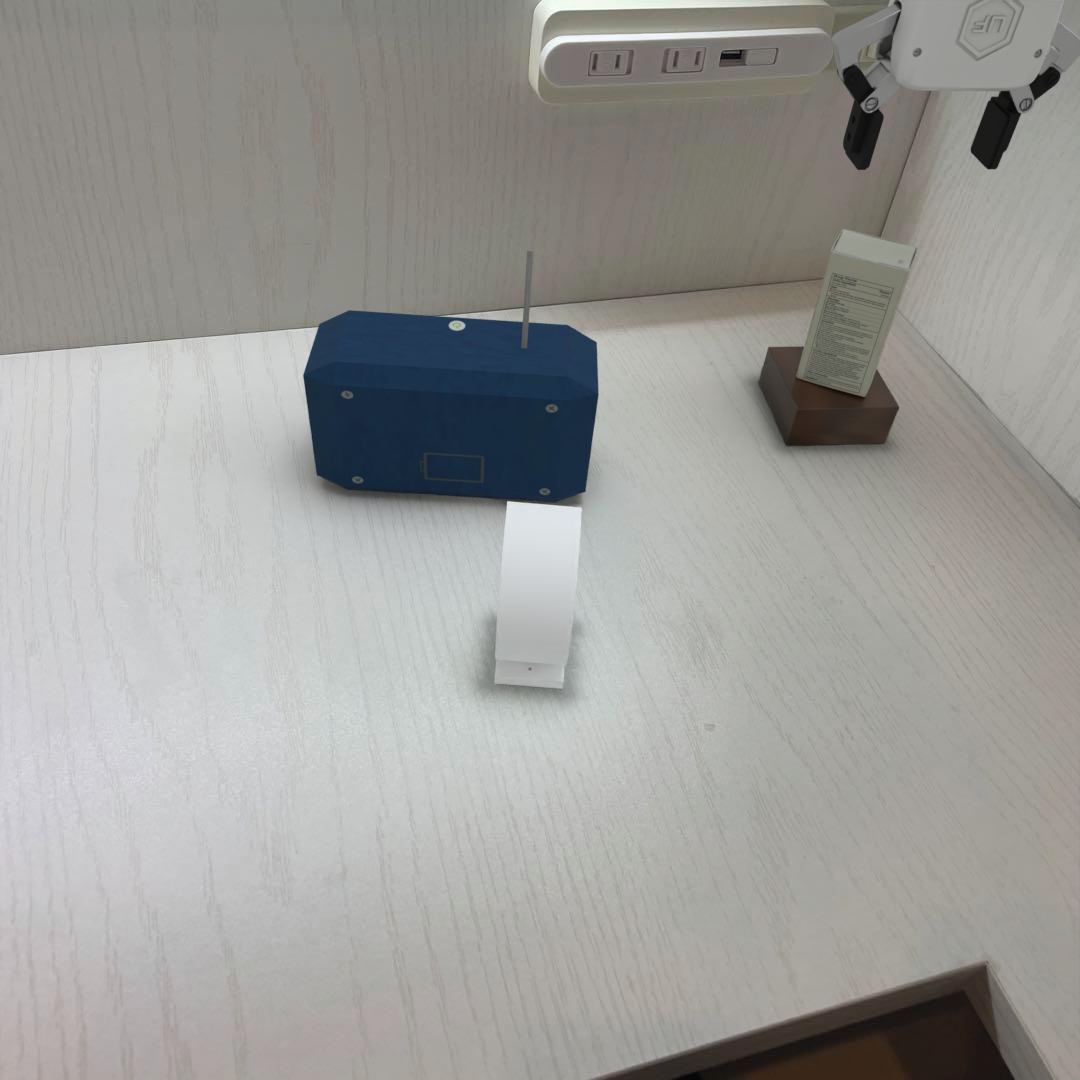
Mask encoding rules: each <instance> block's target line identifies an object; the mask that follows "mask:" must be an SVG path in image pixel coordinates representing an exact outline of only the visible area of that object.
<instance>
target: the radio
mask: <svg viewBox="0 0 1080 1080" xmlns="http://www.w3.org/2000/svg"><path fill="white" fill-rule="evenodd" d="M533 260H534V250H533V249H528V250H526V261H525V262H526V263H525V279H524V294H523V296H524V297H523V310H522V311H523V313H522V314H523V315H522V321H514V320H502V319H501V320H500V319H487V318H486V319H485V318H484V319H483V318H471V317H455V316H441V315H440V316H439V315H425V314H409V313H395V312H382V311H381V312H380V311H366V310H352V309H351V310H350V309H348V310H346V311H345V312H342V313H339V314H337V315H336V316H333V317H331V318H329V319H327V320H325V321H322V322H321V323H318V327H317V329H316V333H315V337H314V340H313V342H312V346H311V350H310V351H309V355H308V358H307V362H306V365H305V368H304V371H303V374H302V377H303V385H304V392H305V399H306V406H307V413H308V421H309V428H310V436H311V437H310V438H311V443H312V451H313V458H314V465H315V466H314V467H315V473H316V476H317V477H319V478H321V479H324V480H325V481H328V482H330V483H333V484H335V485H337V486H339V487H341V488H343V489H345V490H347V491H357V492H358V491H362V492H375V493H376V492H377V493H391V494H393V493H394V494H406V495H407V494H408V495H409V494H411V495H426V496H443V497H457V498H459V497H460V498H474V499H491V500H492V499H493V500H505V501H506V500H507V501H522V502H537V503H557V502H560V501H564V500H565V499H569V498H572V497H575V496H577V495H580V494H583V493H586V491H587V484H588V477H589V469H590V461H591V455H592V447H593V441H594V440H593V439H594V431H595V424H596V417H597V409H598V403H599V367H598V366H599V365H598V363H599V362H598V342H597V341H595V340H593V339H592V338H591V337H589V336H587V335H585V334H584V333H582V332H580V331H578V330H577V329H575V328H573V327H572V326H570V325H568V324H561V323H560V324H559V323H546V322H545V323H544V322H531V321H530V309H531V308H530V307H531V293H532V280H533V279H532V278H533V277H532V276H533V263H534V261H533Z"/></svg>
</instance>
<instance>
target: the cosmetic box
mask: <svg viewBox="0 0 1080 1080" xmlns="http://www.w3.org/2000/svg"><path fill="white" fill-rule="evenodd" d="M917 253H918V246H916V245H912V244H909V243H905V242H900V241H896V240H893V239H889V238H884V237H880V236H875V235H871V234H867V233H863V232H859V231H854V230H851V229H845V228H843V229H842V230H841V231H840V233H839V235H838V237H836V240H835V242H834V243H833V245H832V247H831V249H830V252H829V255H828V259H827V263H826V266H825V270H824V273H823V274H824V275H823V277H822V281H821V285H820V289H819V291H818V295H817V300H816V302H815V307H814V310H813V312H812V316H811V317H812V318H811V321H810V325H809V329H808V332H807V335H806V340H805V343H804V349H803V353H802V357H801V360H800V364H799V368H798V372H797V375H796V377H797V378H798V379H801V380H805V381H808V382H811V383H815V384H818V385H822V386H826V387H829V388H833V389H836V390H840V391H843V392H847V393H850V394H854V395H858V396H862V397H866V395H867V393H868V390H869V388H870V386H871V383H872V380H873V377H874V375H875V372H876V369H877V370H878V366H879V363H880V360H881V357H882V355H883V352H884V349H885V347H886V343H887V341H888V337H889V336H890V335H889V334H890V332H891V329H892V326H893V323H894V320H895V318H896V315H897V312H898V308H899V305H900V303H901V300H902V298H903V294H904V292H905V289H906V286H907V282H908V280H909V276H910V274H911V271H912V267H913V265H914V262H915V259H916V256H917Z"/></svg>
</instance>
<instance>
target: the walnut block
mask: <svg viewBox="0 0 1080 1080" xmlns="http://www.w3.org/2000/svg"><path fill="white" fill-rule="evenodd" d="M804 346H805V345H804ZM804 346H803V345H802V346H799V345H798V346H768V347H767V350H766V354H765V358H764V361H763V365H762V368H761V372H760V375H759V378H758V385H759V388H760V389H761V392H762V394H763V397H764V399H765V401H766V403H767V405H768V408H769V410H770V412H771V414H772V417H773V419H774V421H775V424H776V426H777V429H778V430H779V432H780V435H781V437H782V439H783V442H784V445H785V446H787V447H788V446H791V447H793V446H825V445H865V444H885V443H886V441H887V439H888V436H889V434H890V432H891V429H892V426H893V424H894V422H895V419H896V417H897V414H898V412H899V410H900V405H899V404H898V402H897V400H896V399H895V397H894V395H893V393H892V392H891V390H890V388H889V387H888V385H887V383H886V382H885V380H884V379H883V377H882V375H881V373H880V372H879V370H878V368H877V369H876V372H875V375H874V377H873V380H872V383H871V386H870V388H869V390H868V393H867V395H866V397H862V396H858V395H854V394H850V393H847V392H843V391H840V390H836V389H833V388H829V387H826V386H822V385H818V384H815V383H811V382H808V381H805V380H801V379H798V378H797V377H796V375H797V372H798V368H799V364H800V360H801V357H802V353H803V349H804Z"/></svg>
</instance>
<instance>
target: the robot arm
mask: <svg viewBox="0 0 1080 1080" xmlns="http://www.w3.org/2000/svg"><path fill="white" fill-rule="evenodd" d="M1065 1H1066V0H889V2H888V4H887V7H885V8H883V9H881V10H879V11H877V12H875V13H873V14H870V15H869V16H867V17H865V18H862V19H861V20H859V21H857V22H855V23H853V24H851V25H849V26H847V27H844V28H843V29H841V30H839V31H836V32H835V33H834V34H833V35H832V37H831V41H830V42H831V47H832V52H833V56H834V61H835V65H836V68H837V69H836V73H837V76H838V77H839V79H840V81H841V82H842V83H843V85H844V87H845V88H846V89H847V91H848V92H849V95H850V96H851V98H852V99H853V104H852V106H851V111H850V114H849V117H848V121H847V124H846V128H845V132H844V136H843V139H842V147H843V150H844V154H845V155H846V157H847V158H848V159H849V161H850V162H851V163H852V165H853V166H854V168H855V169H856V170H857V171H866V170H867V169H868V168H870V166H871V162H872V159H873V156H874V152H875V149H876V146H877V142H878V139H879V135H880V133H881V130H882V126H883V123H884V117H885V115H884V114H883V112H882V111H881V110H880V108H881V106H883V105H884V104H885V103H886V102H887V101H888V100H889V99H890V98H891V97H892V96H893V95H895V94H896V93H897V92H898V91H899V90H900V89H901V88H902V87H903V88H905V89H908V90H912V91H922V92H923V91H924V92H925V91H926V92H929V91H930V92H998V96H991V97H990V98H989V100H988V101H987V102H986V106H985V108H984V111H983V113H982V116H981V118H980V122H979V124H978V127H977V130H976V132H975V135H974V138H973V140H972V143H971V146H970V153H971V154H972V155H973V156H974V158H976V160H978V162H979V163H980V164H981V165H982V166H983V167H984V168H986V169H987V170H997V169H998V168H999V166H1000V163H1001V160H1002V157H1003V155H1004V153H1005V152H1006V151H1007V150H1008V148H1009V145H1010V143H1011V140H1012V138H1013V135H1014V133H1015V131H1016V128H1017V125H1018V123H1019V120H1020V118H1021V116H1022V115H1023V114H1026V113H1028V112H1030V111H1031V110H1032V108H1033V107H1034V106H1035V101H1036V100H1038V99H1039V98H1040V97H1042V96H1043V95H1045V94H1046V93H1047V92H1049V91H1050V90H1051V89H1052V88H1054V87H1055V86H1056V85H1057V84H1058V83H1059V82H1060V79H1061V75H1062V74H1063V73H1065V72H1066V71H1067V70H1068V69H1069V68H1070V67H1071V65H1072V64H1073V63H1074V62H1075V61H1077V59H1078V58H1079V56H1080V37H1079V36H1078V35H1076V34H1075V33H1074V32H1073V31H1071V29H1069V28H1068V27H1066V26H1065V25H1064V24H1063V23H1062V22H1060V21H1059V20H1060V16H1061V13H1062V11H1063V8H1064V4H1065ZM875 43H876V47H875V59H876V60H875V61H874V62H873V63H872V64H871V65H870V66H869V67H868V68H867V69H866V70H865V71H864V72H863V71H862V70H861V65H860V53H861V51H862V50H863V49H865V48H866V47H869V46H871V45H873V44H875ZM1049 49H1050V50H1049Z"/></svg>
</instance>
